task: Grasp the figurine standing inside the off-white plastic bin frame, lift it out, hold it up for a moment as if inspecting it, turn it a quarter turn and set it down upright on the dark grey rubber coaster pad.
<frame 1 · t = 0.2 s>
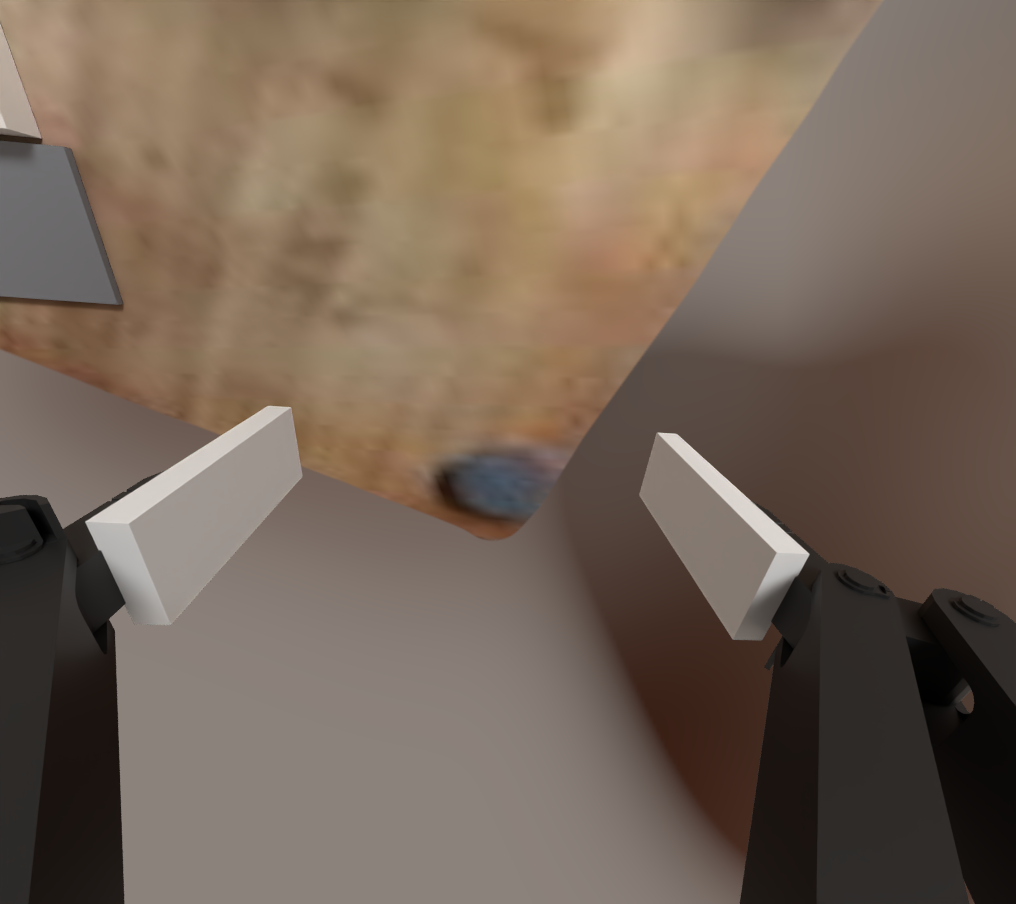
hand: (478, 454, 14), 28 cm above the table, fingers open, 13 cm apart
coaster pad: (25, 226, 34), on the table
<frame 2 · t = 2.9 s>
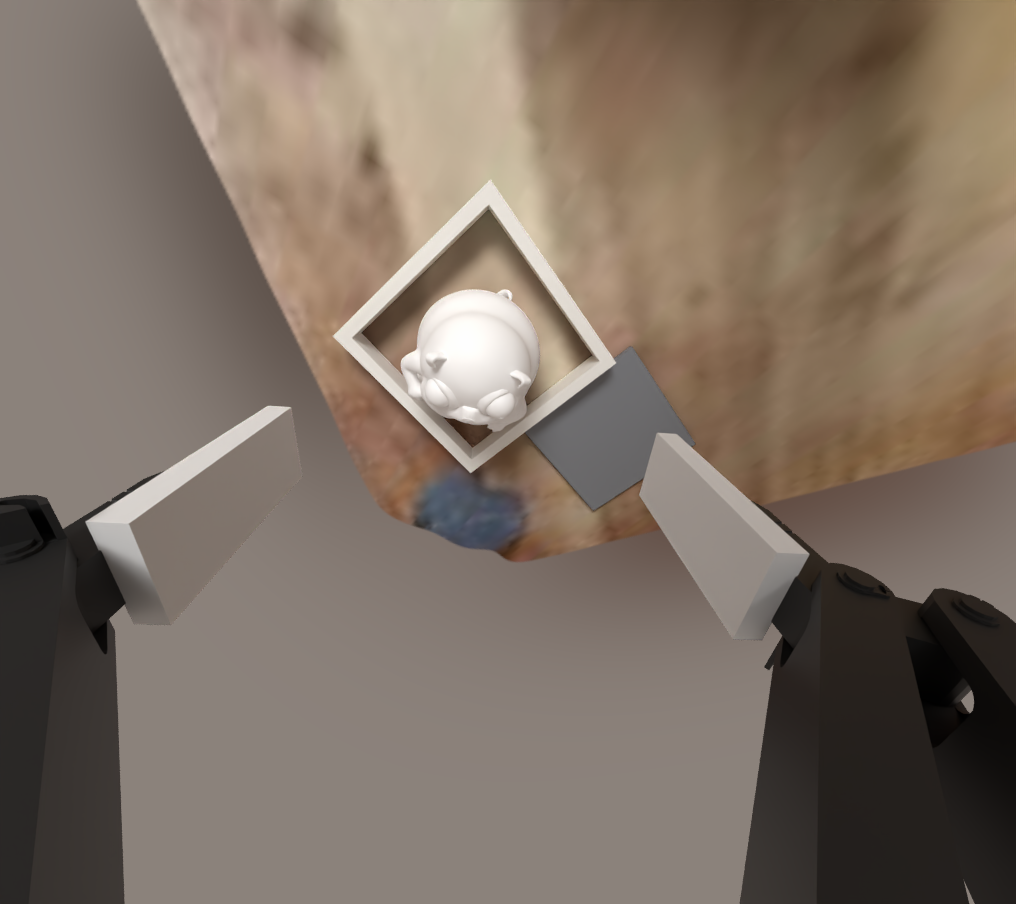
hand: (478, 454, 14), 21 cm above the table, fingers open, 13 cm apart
figurine: (479, 343, 33), resting in bin frame
bin frame: (479, 344, 33), on the table
coaster pad: (609, 434, 37), on the table
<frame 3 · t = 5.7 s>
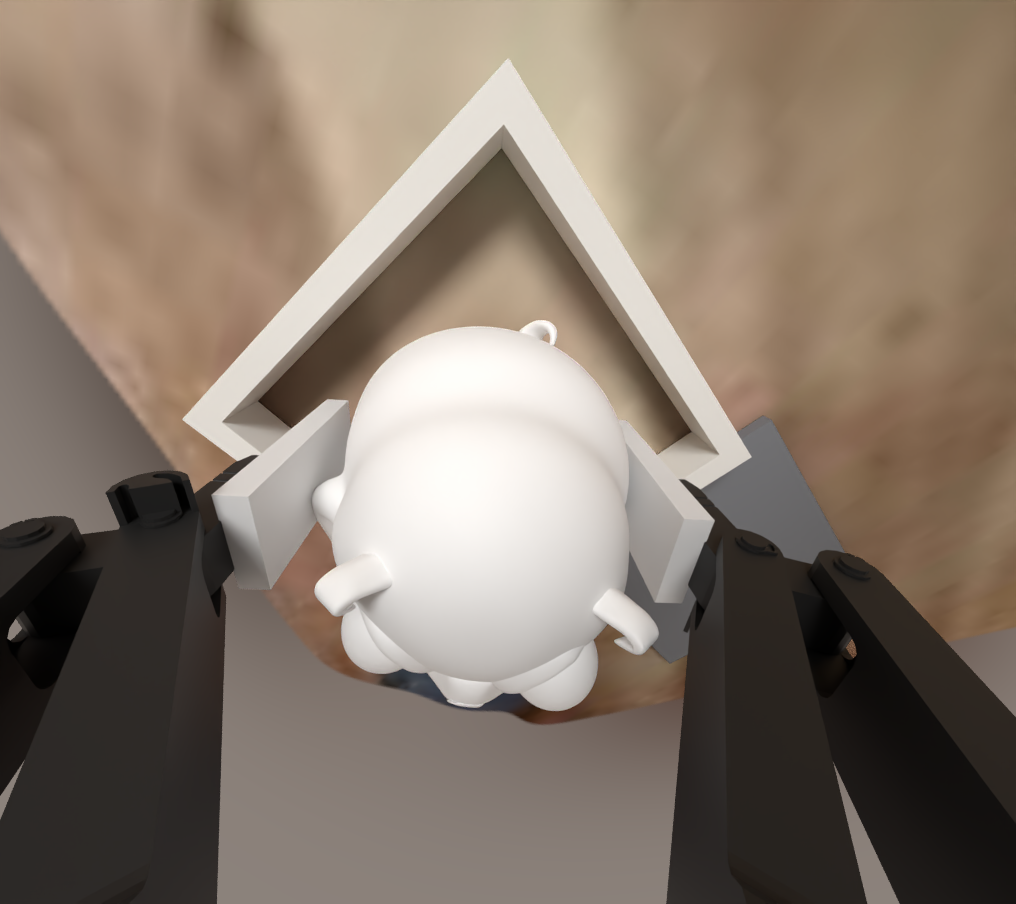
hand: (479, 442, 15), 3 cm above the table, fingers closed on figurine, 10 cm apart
figurine: (488, 415, 18), resting in bin frame, touching gripper
bin frame: (483, 416, 17), on the table
coaster pad: (706, 555, 22), on the table
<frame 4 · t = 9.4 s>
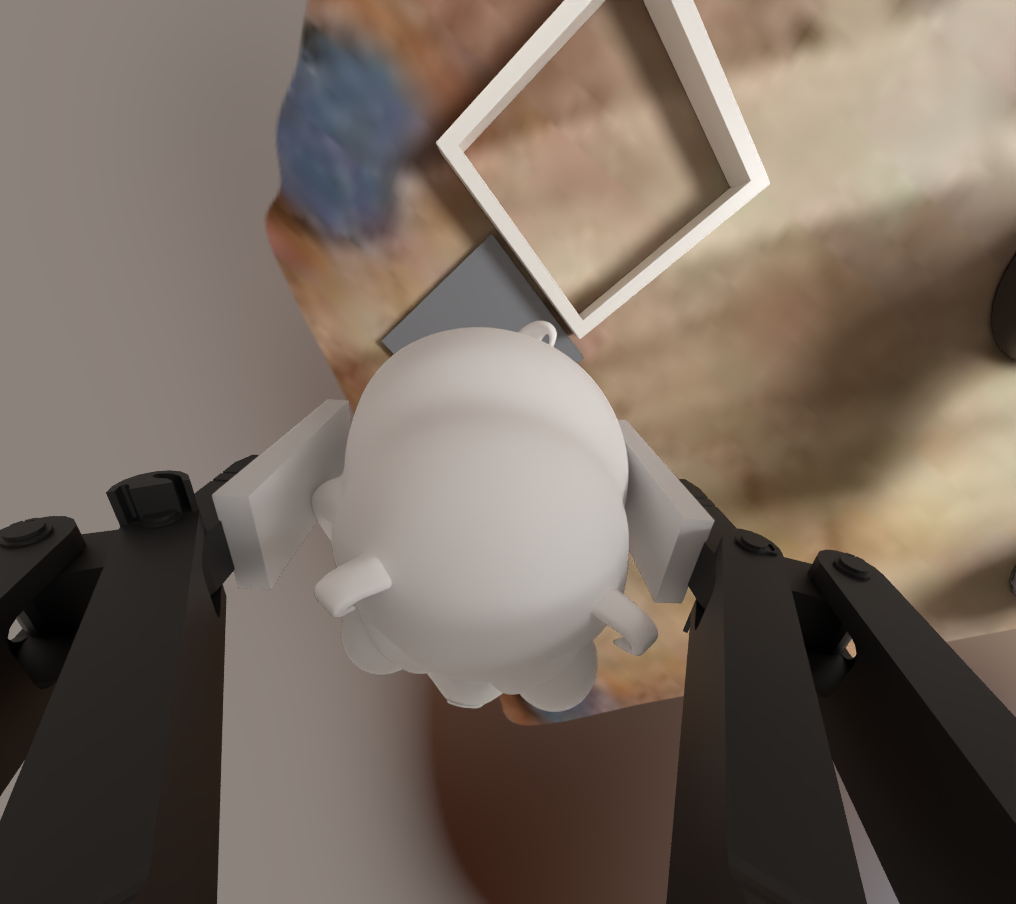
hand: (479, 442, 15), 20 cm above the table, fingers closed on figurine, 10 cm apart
figurine: (488, 415, 18), point 17 cm above the table, touching gripper
bin frame: (599, 171, 27), on the table
coaster pad: (484, 348, 33), on the table
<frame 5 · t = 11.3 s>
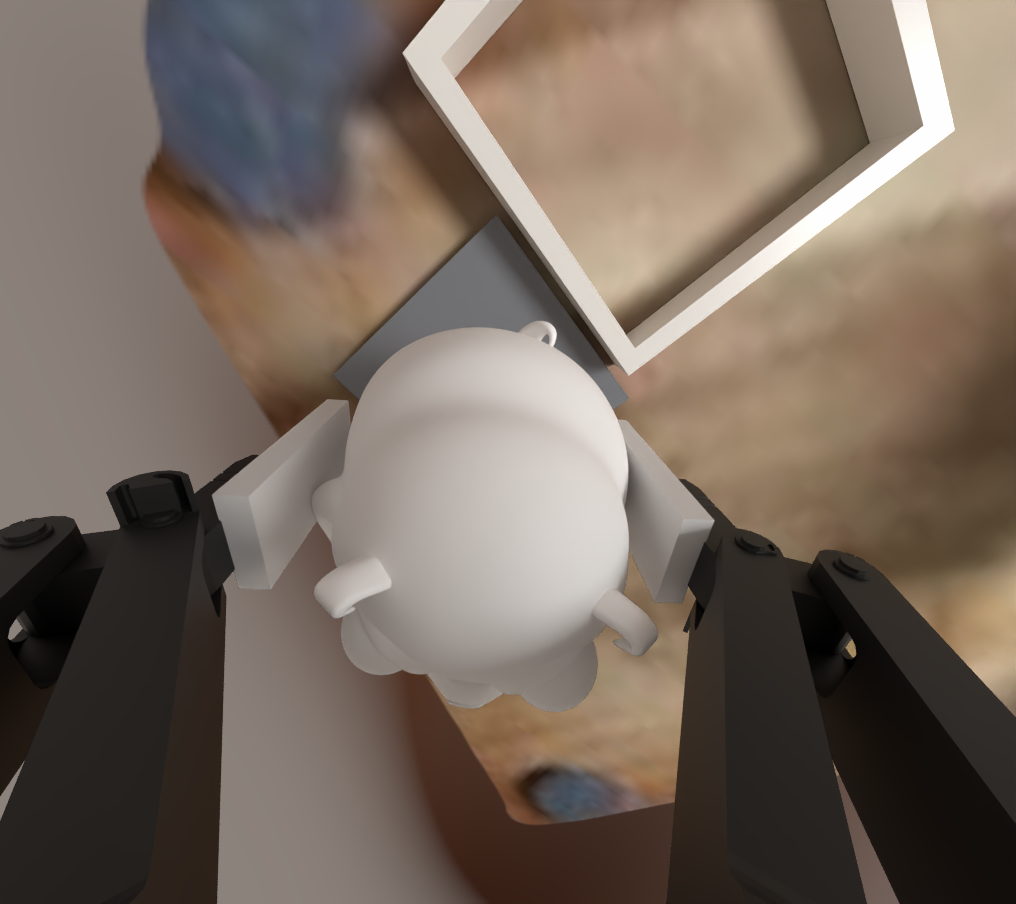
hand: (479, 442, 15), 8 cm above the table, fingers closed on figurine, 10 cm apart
figurine: (488, 415, 18), point 5 cm above the table, touching gripper
bin frame: (667, 115, 17), on the table
coaster pad: (485, 384, 22), on the table
when the fingers open (4 cm above the table, at t = 13.1 s): figurine stays where it is, resting on coaster pad.
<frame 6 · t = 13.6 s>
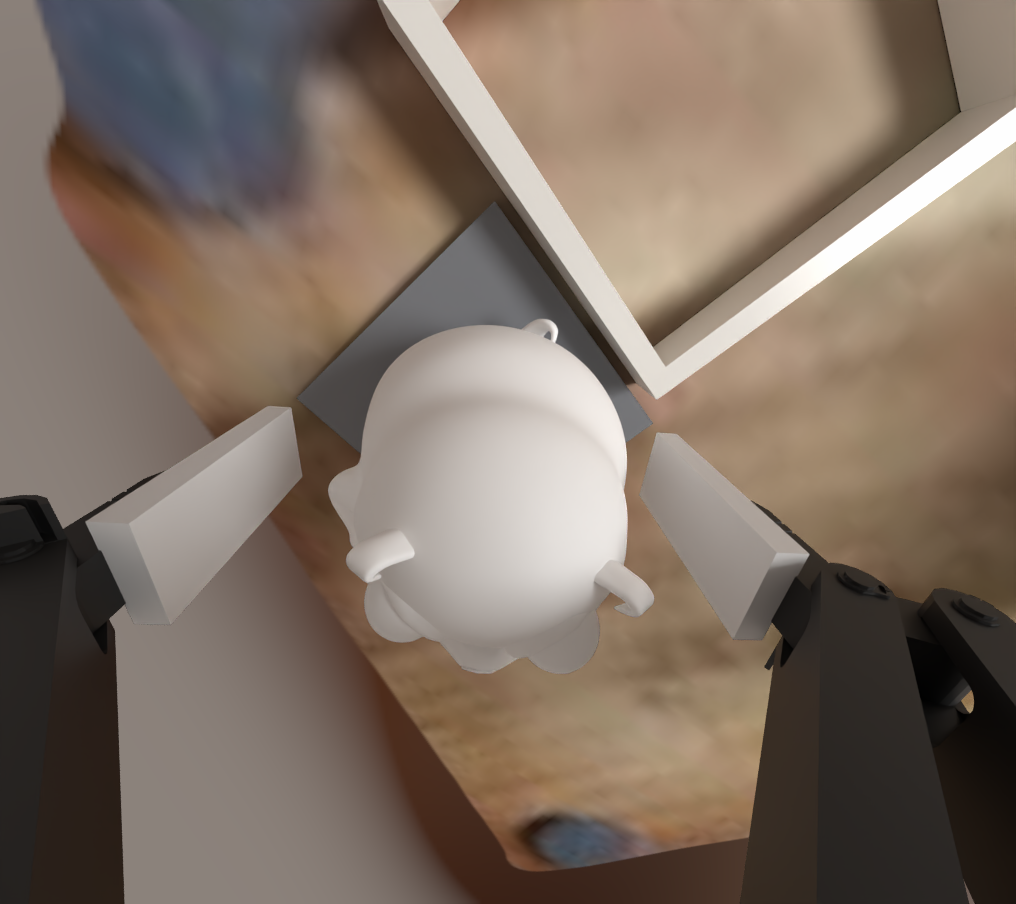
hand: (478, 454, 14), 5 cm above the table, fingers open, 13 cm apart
figurine: (492, 410, 18), resting on coaster pad
bin frame: (711, 75, 14), on the table
coaster pad: (481, 407, 19), on the table
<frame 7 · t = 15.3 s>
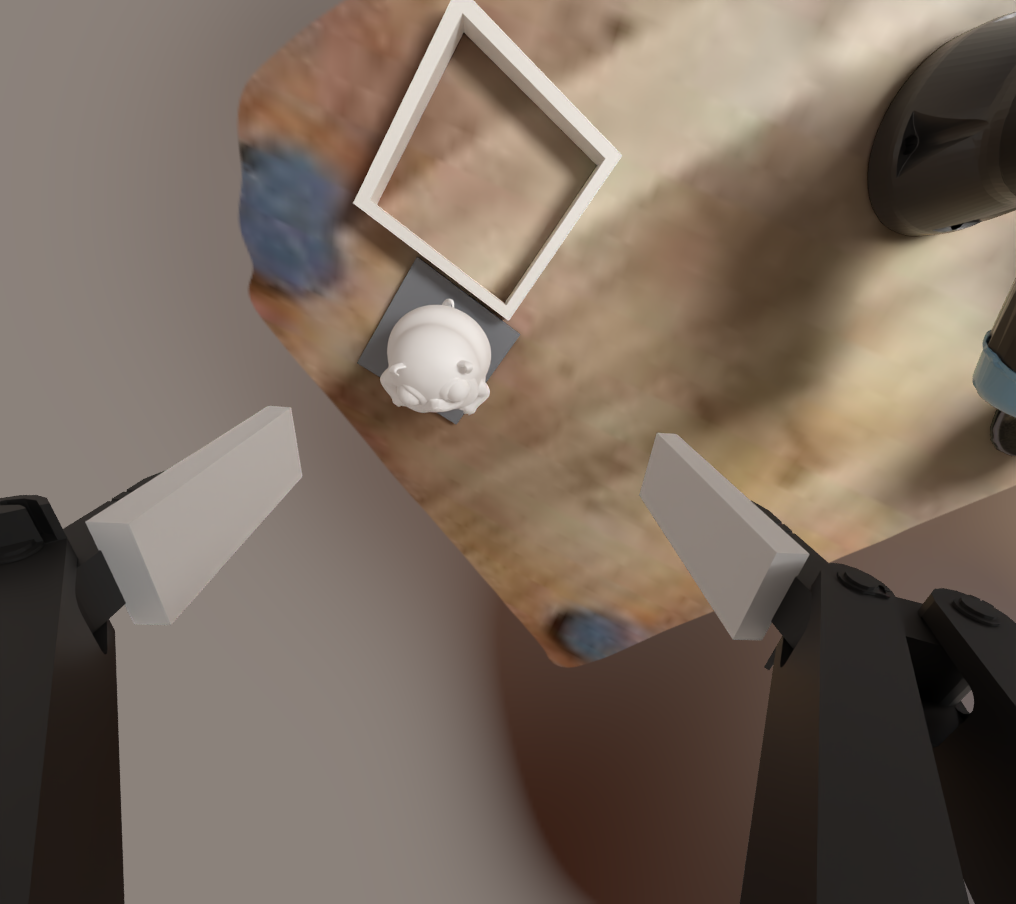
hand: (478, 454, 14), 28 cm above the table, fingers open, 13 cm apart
figurine: (443, 347, 39), resting on coaster pad
bin frame: (486, 185, 34), on the table
coaster pad: (439, 347, 40), on the table
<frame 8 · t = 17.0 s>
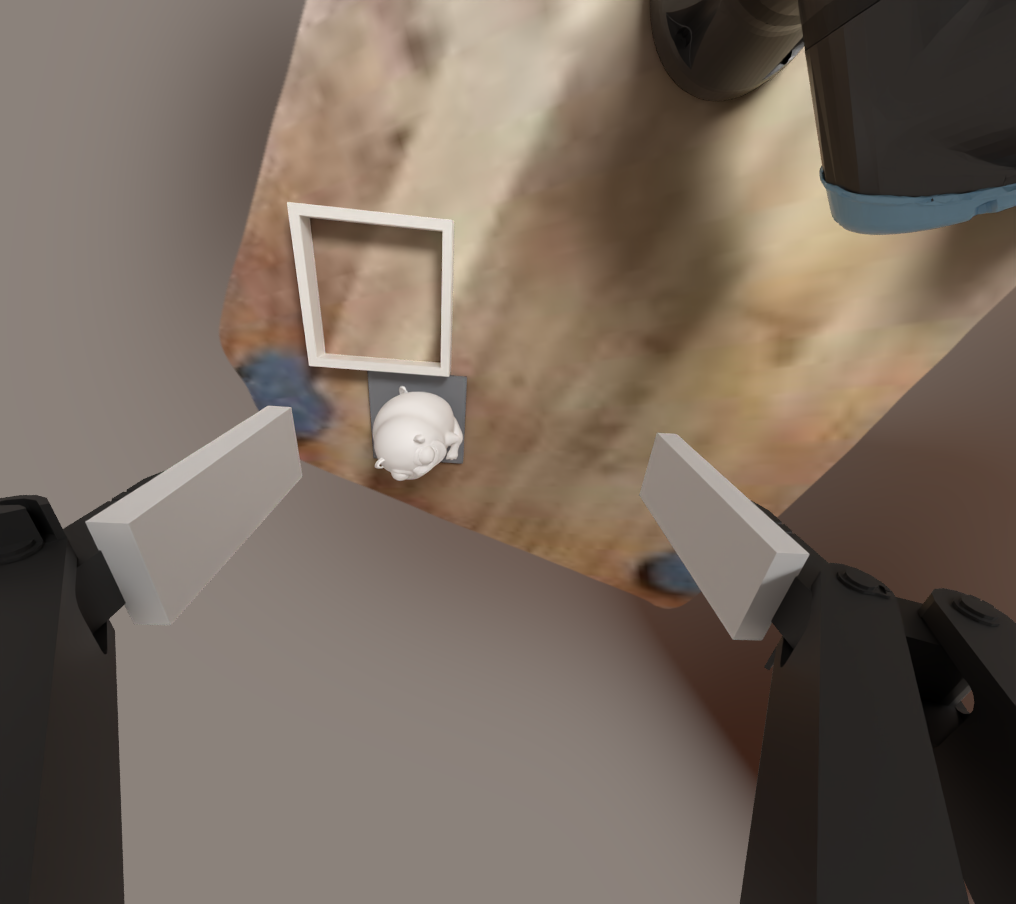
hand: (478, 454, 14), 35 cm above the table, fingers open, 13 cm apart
figurine: (421, 416, 50), resting on coaster pad
bin frame: (381, 296, 43), on the table
coaster pad: (418, 418, 50), on the table
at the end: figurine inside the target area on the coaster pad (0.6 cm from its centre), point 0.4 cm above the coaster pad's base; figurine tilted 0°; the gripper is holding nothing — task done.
